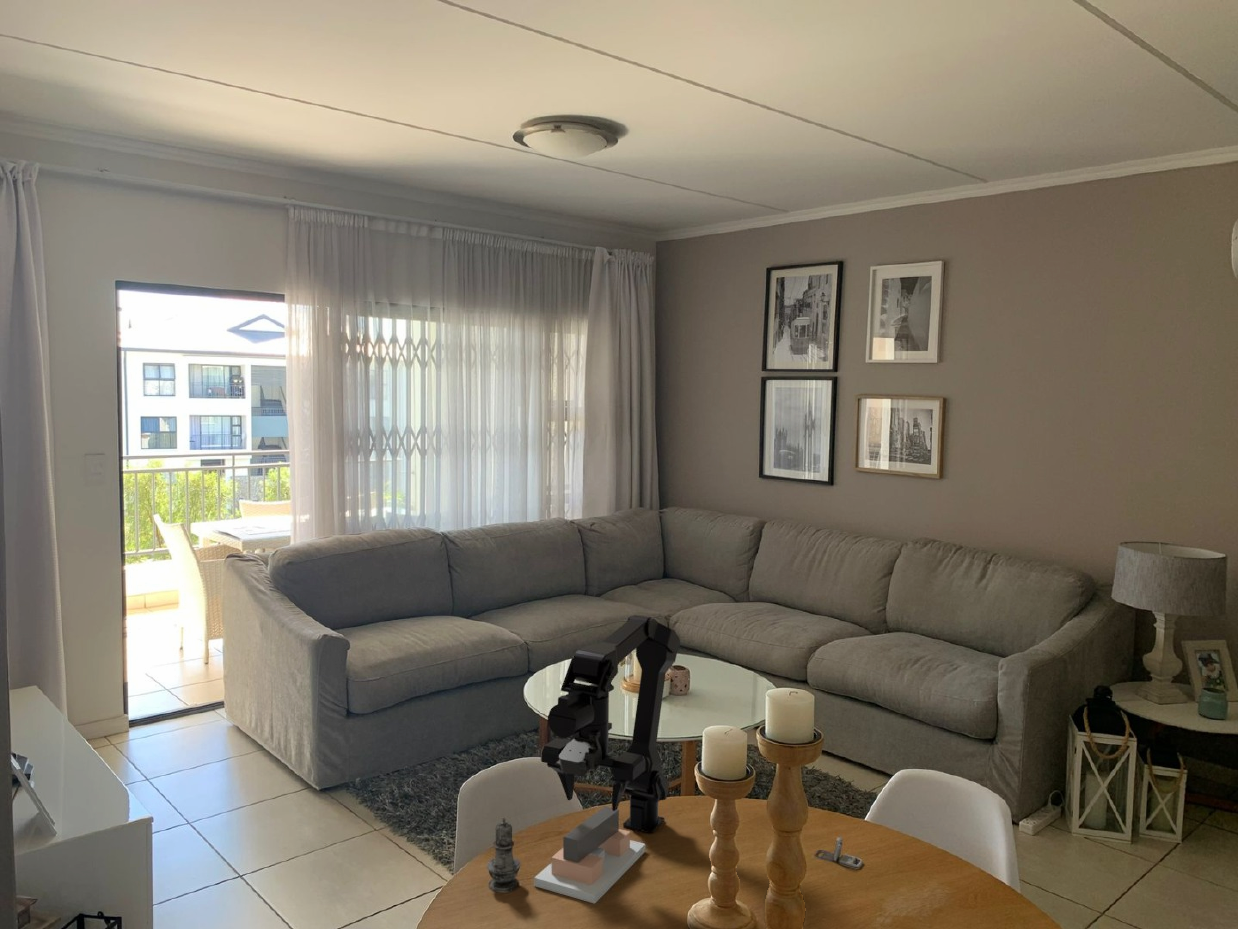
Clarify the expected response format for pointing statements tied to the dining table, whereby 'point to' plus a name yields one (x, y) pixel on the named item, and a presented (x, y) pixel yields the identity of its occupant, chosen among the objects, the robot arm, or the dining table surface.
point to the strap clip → (843, 860)
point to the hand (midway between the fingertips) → (592, 804)
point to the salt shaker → (503, 861)
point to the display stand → (591, 869)
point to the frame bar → (590, 834)
